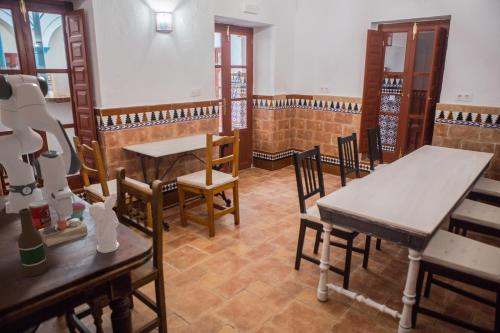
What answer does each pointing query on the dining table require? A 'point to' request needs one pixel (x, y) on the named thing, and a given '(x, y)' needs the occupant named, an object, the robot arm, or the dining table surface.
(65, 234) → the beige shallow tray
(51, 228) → the graphite plug
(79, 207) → the cupcake
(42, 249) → the beer bottle
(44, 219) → the canned food
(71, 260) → the dining table surface
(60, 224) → the red plug
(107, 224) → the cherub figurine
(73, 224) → the white rounded piece
